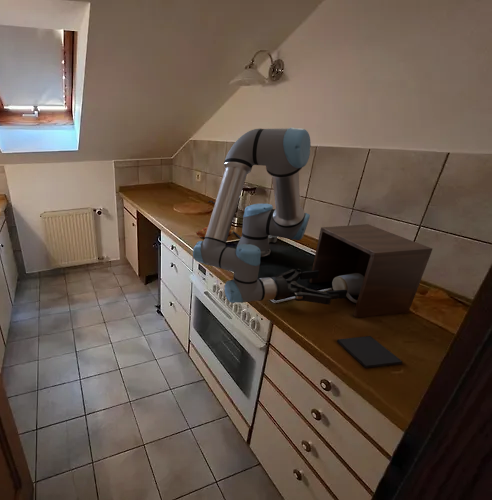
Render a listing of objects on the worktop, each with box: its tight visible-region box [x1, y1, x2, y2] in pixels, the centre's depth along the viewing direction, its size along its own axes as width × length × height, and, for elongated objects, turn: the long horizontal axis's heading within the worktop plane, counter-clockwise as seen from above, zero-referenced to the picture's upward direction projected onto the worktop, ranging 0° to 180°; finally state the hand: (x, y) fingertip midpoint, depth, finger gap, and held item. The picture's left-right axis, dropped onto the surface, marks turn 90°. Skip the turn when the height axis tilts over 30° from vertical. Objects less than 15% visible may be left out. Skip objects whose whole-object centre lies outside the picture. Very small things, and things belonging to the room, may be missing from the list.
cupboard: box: [309, 223, 433, 318], centre depth 101 cm, size 23×18×22 cm
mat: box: [336, 335, 403, 369], centre depth 79 cm, size 10×10×1 cm
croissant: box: [195, 225, 234, 239], centre depth 163 cm, size 21×10×8 cm, turn 101°
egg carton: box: [268, 235, 278, 243], centre depth 156 cm, size 11×8×4 cm
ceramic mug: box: [331, 273, 364, 304], centre depth 103 cm, size 11×8×8 cm
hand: (331, 283), depth 102 cm, fingers open, 13 cm apart
